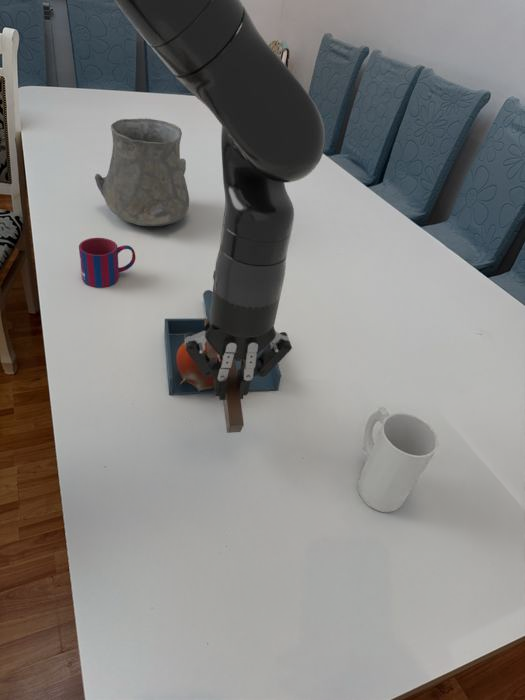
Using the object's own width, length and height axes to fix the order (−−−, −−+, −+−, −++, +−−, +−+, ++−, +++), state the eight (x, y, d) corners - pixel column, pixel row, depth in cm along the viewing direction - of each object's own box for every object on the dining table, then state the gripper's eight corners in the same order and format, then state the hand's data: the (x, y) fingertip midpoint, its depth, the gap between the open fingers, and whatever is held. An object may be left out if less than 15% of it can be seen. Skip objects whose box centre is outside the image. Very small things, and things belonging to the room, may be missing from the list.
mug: (415, 507, 66) (450, 449, 58) (373, 521, 63) (403, 463, 55) (374, 448, 72) (401, 390, 65) (335, 458, 70) (357, 399, 62)
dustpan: (278, 390, 79) (281, 375, 76) (168, 395, 74) (169, 378, 72) (250, 300, 96) (253, 286, 94) (161, 300, 92) (161, 285, 90)
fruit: (190, 400, 78) (204, 355, 81) (229, 401, 74) (243, 353, 77) (156, 377, 72) (173, 330, 76) (197, 377, 68) (213, 327, 71)
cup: (80, 269, 96) (77, 238, 92) (133, 267, 100) (132, 236, 95) (83, 288, 92) (80, 256, 87) (138, 285, 95) (138, 254, 91)
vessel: (110, 244, 105) (105, 148, 92) (92, 199, 120) (85, 111, 107) (208, 237, 113) (215, 148, 101) (179, 195, 128) (182, 113, 115)
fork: (253, 431, 64) (257, 424, 62) (213, 433, 63) (215, 426, 61) (238, 325, 72) (241, 315, 70) (203, 325, 71) (205, 315, 69)
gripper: (187, 304, 50) (179, 419, 61) (316, 305, 53) (286, 414, 64) (181, 265, 56) (175, 377, 67) (298, 268, 59) (274, 374, 70)
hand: (230, 394), depth 65 cm, fingers closed on fork, 2 cm apart
